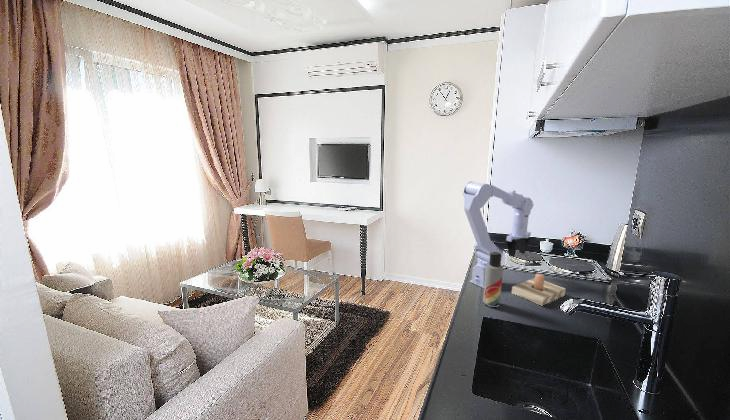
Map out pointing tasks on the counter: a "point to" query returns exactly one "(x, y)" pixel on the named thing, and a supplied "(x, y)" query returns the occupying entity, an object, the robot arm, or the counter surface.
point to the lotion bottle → (493, 280)
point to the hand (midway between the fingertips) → (516, 254)
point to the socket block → (538, 292)
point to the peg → (539, 282)
